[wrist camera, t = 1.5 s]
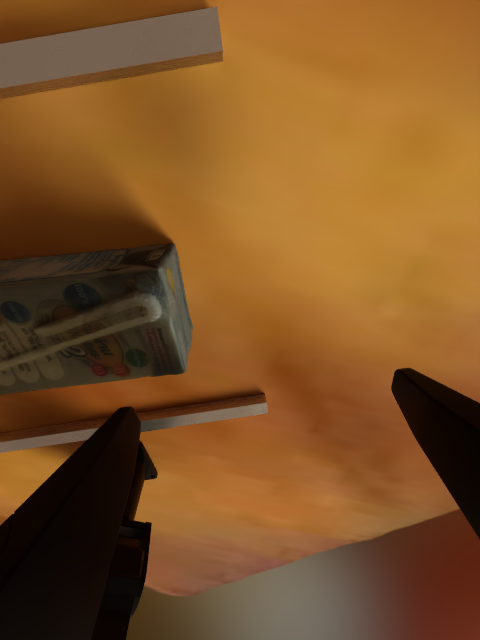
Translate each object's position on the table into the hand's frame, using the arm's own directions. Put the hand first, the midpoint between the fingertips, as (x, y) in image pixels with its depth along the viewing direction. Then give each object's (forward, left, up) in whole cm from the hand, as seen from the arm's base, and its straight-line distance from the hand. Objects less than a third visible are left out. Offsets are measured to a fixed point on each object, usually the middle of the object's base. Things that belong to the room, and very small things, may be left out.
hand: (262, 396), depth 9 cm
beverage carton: (0, +14, -13) cm, 19 cm away
